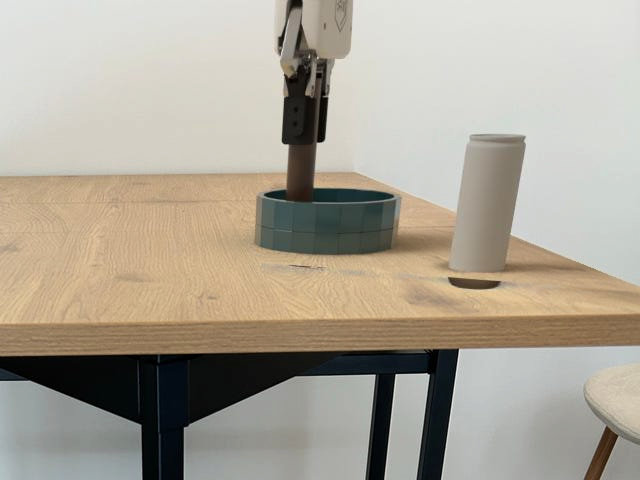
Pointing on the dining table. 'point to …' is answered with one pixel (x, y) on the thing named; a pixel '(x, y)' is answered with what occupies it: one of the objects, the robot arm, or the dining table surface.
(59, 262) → the dining table surface
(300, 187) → the stick
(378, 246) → the bowl
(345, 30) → the robot arm
